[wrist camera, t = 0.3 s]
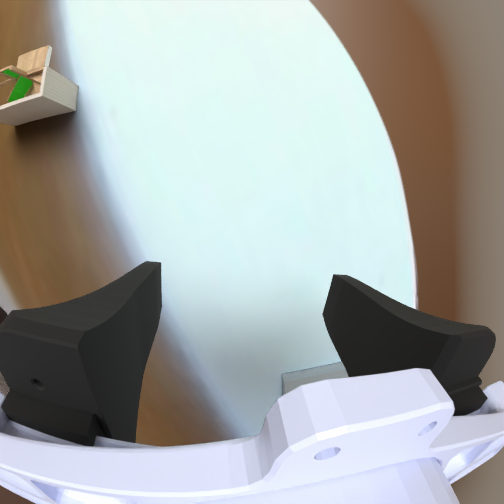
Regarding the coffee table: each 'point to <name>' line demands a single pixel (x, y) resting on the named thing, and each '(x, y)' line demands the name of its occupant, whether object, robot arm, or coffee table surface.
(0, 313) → the bottle
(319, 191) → the coffee table surface
